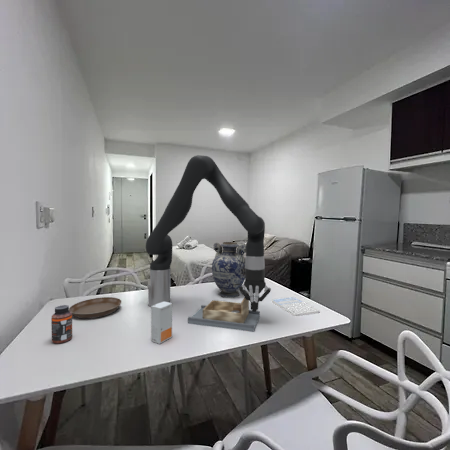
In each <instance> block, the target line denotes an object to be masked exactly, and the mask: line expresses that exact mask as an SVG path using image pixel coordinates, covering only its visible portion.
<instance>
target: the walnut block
mask: <svg viewBox="0 0 450 450" xmlns="http://www.w3.org/2000/svg"><path fill="white" fill-rule="evenodd" d="M233 310H238V311H240V313H241V305H236V304H235V306H234V307H233Z"/></svg>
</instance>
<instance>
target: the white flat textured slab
mask: <svg viewBox="0 0 450 450" xmlns="http://www.w3.org/2000/svg"><path fill="white" fill-rule="evenodd" d="M271 303H272V304H274V305H276V306H278V307H279V308H280V309H282V310H284V311H285V312H287V313H289V314H290V315H292V316H294V317H303V316H309V315H314V314H319V313H321V311H320V309H319V308H317V307H314V306H313V305H311V304H308V302H305V301H303V300H301V299H299V298H296V297H295V296H292V297H284V298H282V297H281V298H274V299H272V300H271Z"/></svg>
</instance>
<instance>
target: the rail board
mask: <svg viewBox="0 0 450 450" xmlns="http://www.w3.org/2000/svg"><path fill="white" fill-rule="evenodd" d="M206 306H207V305H205V304H204V305H203V304H202V305H200V309H198V310H197V311H196V312H195V313H194V314H192V316H188V317H187V324H191V325H197V326H198V325H200V326H205V327H206V326H207V327H212V328H213V327H215V328H222V329H229V330H235V331H236V330H237V331H243V332H244V331H246V332H254V331H255V330H256V326H257V325H258V321H259V319H260V317H261V311H259V310H257V311H256V312H252V310H251V309H249V314H248V316H247V318H246V320H245V322H244V323H236V322H228V321H220V320H211V319H203V309H204V308H205V307H206Z"/></svg>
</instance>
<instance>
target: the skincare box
mask: <svg viewBox="0 0 450 450" xmlns="http://www.w3.org/2000/svg"><path fill="white" fill-rule="evenodd" d="M150 311H151V312H150V341H151V342H152V343H153V342H154V343H156V344H157V345H158V344H159V345H160V344H162V343H164V342H166V341H167V340H169V339H171V338H172V337H173V303H172V302H170V303H168V302H165V301H164V302H161V303H158V304H156V305H153V306H150Z"/></svg>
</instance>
